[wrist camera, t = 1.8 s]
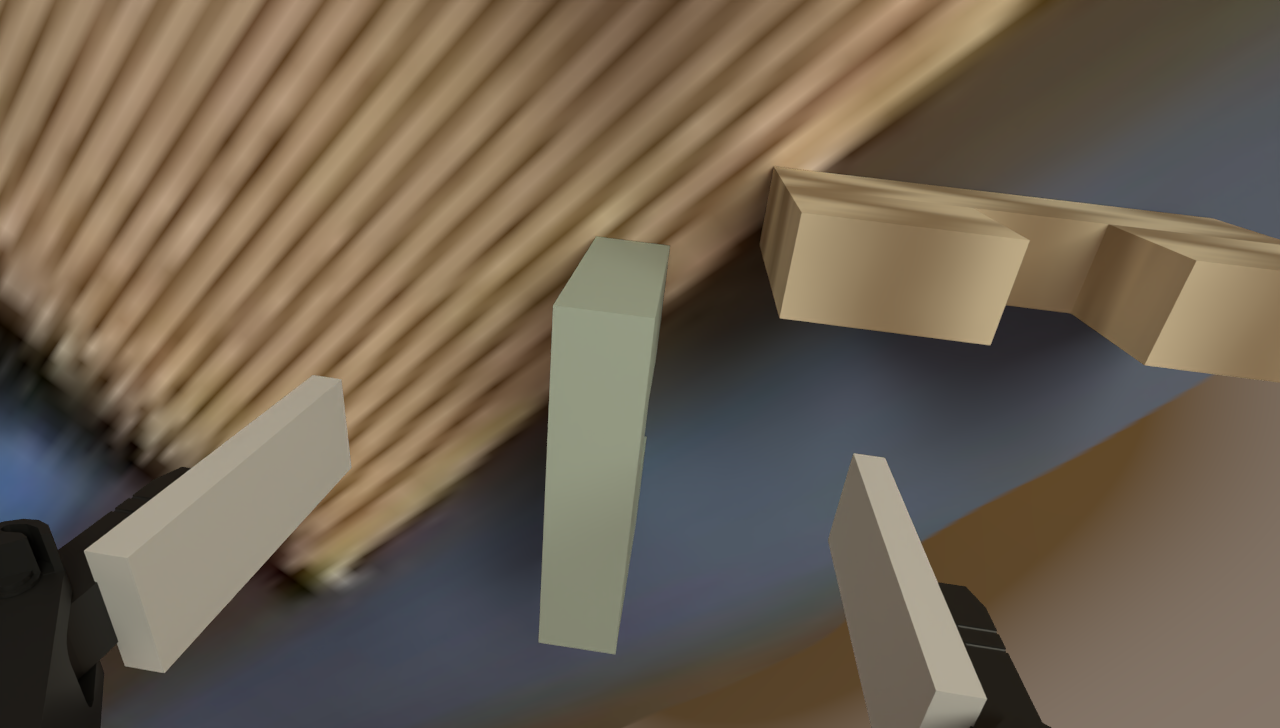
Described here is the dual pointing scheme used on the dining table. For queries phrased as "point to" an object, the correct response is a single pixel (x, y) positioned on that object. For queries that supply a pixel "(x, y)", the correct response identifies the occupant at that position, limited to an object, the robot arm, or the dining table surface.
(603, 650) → the grey-green block
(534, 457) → the dining table surface
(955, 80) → the dining table surface
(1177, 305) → the u-shaped wooden block
